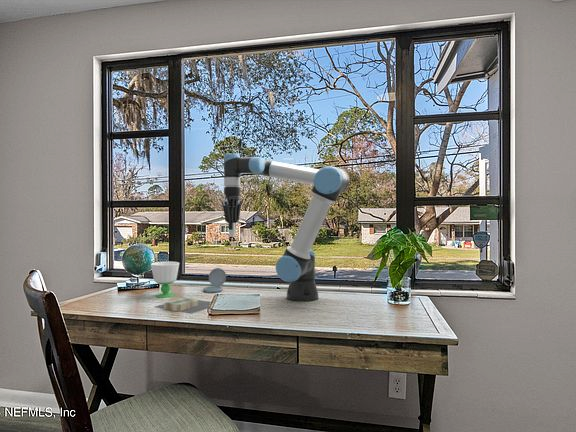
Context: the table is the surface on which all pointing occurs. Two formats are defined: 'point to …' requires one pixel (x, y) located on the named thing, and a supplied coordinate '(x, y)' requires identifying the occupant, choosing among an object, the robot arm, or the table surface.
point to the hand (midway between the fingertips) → (232, 236)
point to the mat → (201, 306)
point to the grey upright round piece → (216, 281)
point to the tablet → (181, 304)
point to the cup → (165, 276)
